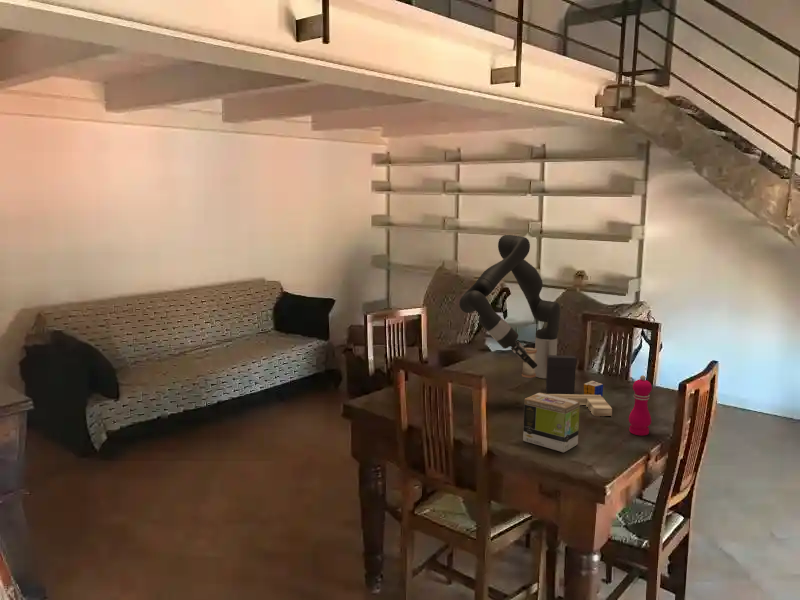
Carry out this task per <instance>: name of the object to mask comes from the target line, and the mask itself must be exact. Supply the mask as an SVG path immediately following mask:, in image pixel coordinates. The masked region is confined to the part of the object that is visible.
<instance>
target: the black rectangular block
mask: <svg viewBox="0 0 800 600" xmlns="http://www.w3.org/2000/svg"><path fill="white" fill-rule="evenodd" d="M576 369H577V358H576V356H575V355H561V354H560V355H548V356H547V375H546V378H545V379H546V380H545V392H546V394H566V393H568V394H575V388H576V387H575V386H576Z"/></svg>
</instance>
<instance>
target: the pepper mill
mask: <svg viewBox="0 0 800 600" xmlns="http://www.w3.org/2000/svg"><path fill="white" fill-rule="evenodd" d="M652 389H653V387H652V383H651V382H650V381H649V380H647V378H646V375H644V374H642V375H640V377H639V379H637V380H635V381H634V382H633V383H632V390H633V392H634V393H633V398H634V405H633V408H632V410H631V411H630V413H629V415H628V423H629V424H630V425H629V433H631V434H633V435H636V436H642V437H643V436H648V435H649V433H650V428H649V426H651V424H652V417H651V414H650V411H649V407H648V401H649V400H650V396H651V395H650V393H651V392H652Z"/></svg>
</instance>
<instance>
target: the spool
mask: <svg viewBox="0 0 800 600" xmlns="http://www.w3.org/2000/svg"><path fill="white" fill-rule="evenodd" d="M524 349H525V350H526V351H527V354H528V355H529V356H530V357H531V359H532V360H533V361H534V362H535V355H536V353H537V350H536V349H535V347H534V348H533V347H524ZM523 351H524V350H523ZM526 357H527V356H525V357H524V359H525V358H526ZM521 376H522V378H526V379H527V378H528V379H529V378H531V379H532V378H536V373H535V368H534V369H533V368H532V367H531V366H530V365H529V364H528V363H527V362H524V361H523V360H522V372H521Z"/></svg>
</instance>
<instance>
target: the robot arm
mask: <svg viewBox="0 0 800 600" xmlns="http://www.w3.org/2000/svg"><path fill="white" fill-rule="evenodd" d="M530 243H531V242H530V240H529V239H528V238H527V237H525V236H521V235H513V234H504V235H502V236H501V237H500V238H499V240H498V243H497V248H498V249H497V250H498V253H499V255H500V256H501V258H502V260H500V261H498V262H497V263H494V264H493V265H491V266H489V267H488V268H486V269H485V270H484V271H483V272H482V273H481V275H480V276H479V277H478V278H477V280H476V281H475V282H474V283H473V285H472V286H471V287H470V288H469V289H467V291H465V293H464V294H462V296H461V297H460V299H459V308H460V310H461V311H462V312H463V313H467V314H471V313H474V312H476V313H477V315H478V320H477V321H478V323H479V324H480V325H481V326H482V327H483V329H485V330H486V331H487V332H488V334H489V335H490V336H491V337H492V338H493V339H494V341H496V343H498V344H499V346H501V348H502V349H505V350H506V349H508V348H509V347H510V350H511V351H512V352H513V353H514V354H516V356H517V357H518V358H520V359H521V360H522V362H523V361H524V362H527V363H528V364H529V365H530V366H531V367H532V368H533V369H534V368H535V373H536V376H535V378H540V379H546V375H547V356H548V355H557V353H558V352H557V351H558V335H559V331H560V320H561V305H560V303H559V302H556V301H551V300H545V299H542V298H541V297H540V294H541V292H542V289H543V285H544V284H543V280H542V277H541V275H540V274H539V271H538V270H537V269H536V268H535V267H534V266H533V265H532V264H531V263H529V262H528V261H527V260H526V258H527V256H528V254H529V253H530V248H531V244H530ZM510 272H511V273H512V274H513V276H514V278H515V280H516V282H517V284H518V286H519V288H520V290H521V291H522V293H523V295H524V297H525V299H526V301H527V303H528V306H529V309H530V312H531V314H532V316H533V318H534V319H535V320H536V321H538V322H542V323H547V324H546V327H544V328H540V329H537V330H536V331H535V341H534V343H535V345H534V349H536V350H537V353H536V355H535V362H534V361H533V360H532V359H531V357H530V356H529V355H528V354H527V351H526V350H525V349H524V348H525V347H524V346H523V344H522V343H521V342H520V341H518V338H519V334H518V332H516V331H515V329H514V328H513V327H512V326H511V325H510V324H509V323H508V322H507V321H505V320H504V319H503V318H502V317H501V316H500V315H499V314H498V313H497V312H496V311H495V310H494V309H493V306H492V304H491V303H490V302H489V300H488V299H487V297H488V296H489V295H491V294H492V292H493V291H494V290H495V289H496V287H497V286H498V285H499V284H500V282H502V280H503V279H504V278H505V277H506V276H507V275H508V274H510ZM523 350H524V351H523ZM525 356H527V357H526V358H525V359H524V357H525Z"/></svg>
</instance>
